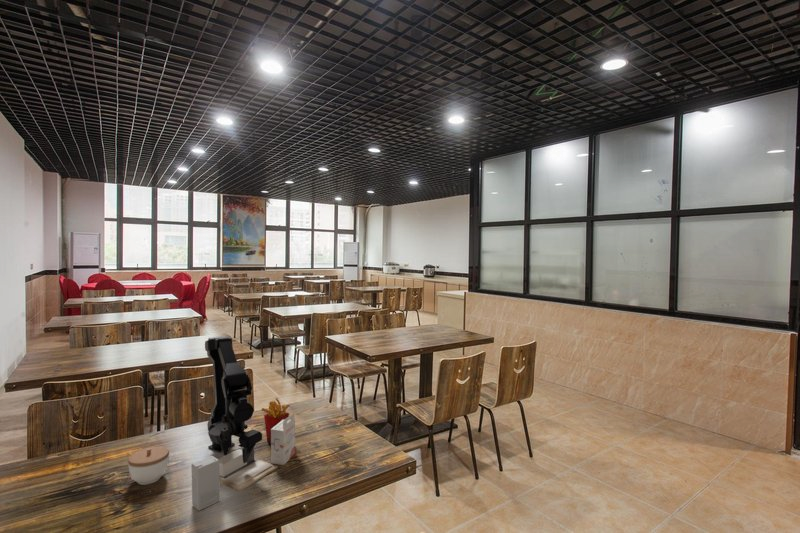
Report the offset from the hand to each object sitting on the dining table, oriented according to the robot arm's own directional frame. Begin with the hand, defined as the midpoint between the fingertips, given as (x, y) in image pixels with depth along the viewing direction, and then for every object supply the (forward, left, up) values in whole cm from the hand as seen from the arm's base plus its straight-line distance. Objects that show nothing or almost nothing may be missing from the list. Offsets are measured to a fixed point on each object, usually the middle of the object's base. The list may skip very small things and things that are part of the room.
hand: (235, 458), depth 132 cm
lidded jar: (-18, -17, -4) cm, 25 cm away
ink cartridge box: (+8, +13, -4) cm, 16 cm away
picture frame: (+1, 0, -4) cm, 4 cm away
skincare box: (+8, -16, -4) cm, 18 cm away
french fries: (-5, +21, -4) cm, 22 cm away
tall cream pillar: (0, 0, -2) cm, 2 cm away
